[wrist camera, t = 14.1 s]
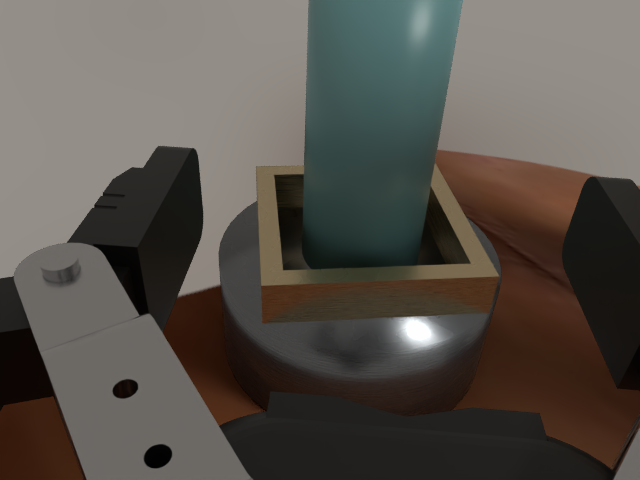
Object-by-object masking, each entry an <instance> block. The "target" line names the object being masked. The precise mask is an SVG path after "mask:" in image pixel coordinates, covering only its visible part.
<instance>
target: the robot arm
mask: <svg viewBox="0 0 640 480" xmlns="http://www.w3.org/2000/svg"><path fill="white" fill-rule="evenodd" d="M94 206H95V207H94V208H92V209H91V210H90V212H89V213H88V214H87V216H86V217H85V219H84V220H83V221H82V223H81V224H80V225H79V227H78V228H77V230H76V231H75V232H74V234H73V235H72V236H71V238H70V239H69V241H68V242H67V243H63V244H57V245H53V246H49V247H46V248H43V249H41V250H39V251H36V252H34V253H33V254H31V255H29V256H28V257H27V258H25V259H24V260H23V261H22V262H21V263H20V264H19V265H18V267H17V268H16V271H15V273H14V276H13V277H7V278H1V279H0V411H1V409H2V407H3V405H7V404H13V403H18V402H24V401H29V400H34V399H40V398H45V397H51V396H54V399H55V402H56V405H57V408H58V410H59V413H60V416H61V419H62V422H63V424H64V427H65V430H66V433H67V436H68V438H69V441H70V444H71V447H72V450H73V452H74V455H75V458H76V461H77V464H78V466H79V469H80V472H81V475H82V478H83V480H640V413H639V415H638V417H637V419H636V421H635V423H634V425H633V427H632V429H631V431H630V432H629V434H628V436H627V438H626V440H625V442H624V444H623V446H622V448H621V450H620V452H619V454H618V456H617V458H616V459H615V461H614V463H613V465H612V467H611V469H610V468H609V467H607V466H606V465H605V464H603V463H602V462H600V461H599V460H597V459H596V458H594V457H592V456H591V455H589V454H587V453H586V452H584V451H582V450H580V449H578V448H576V447H574V446H572V445H570V444H567V443H565V442H562V441H560V440H557V439H555V438H552V437H549V436H546V434H545V430H544V427H543V423H542V420H541V417H540V413H531V412H519V411H506V410H494V409H482V408H467V409H460V410H453V411H446V412H439V413H432V414H425V415H417V416H408V417H407V416H400V415H396V414H392V413H389V412H386V411H382V410H379V409H376V408H372V407H369V406H366V405H362V404H359V403H356V402H352V401H349V400H346V399H342V398H339V397H335V396H322V395H310V394H298V393H286V392H273V391H271V392H270V398H269V403H268V409H267V412H261V413H255V414H251V415H247V416H243V417H240V418H237V419H234V420H232V421H229V422H226V423H224V424H222V425H220V426H218V424H217V422H216V421H215V419H214V417H213V416H212V414H211V413H210V411H209V409H208V408H207V406H206V404H205V403H204V401H203V399H202V398H201V396H200V394H199V393H198V391H197V389H196V388H195V386H194V384H193V383H192V381H191V379H190V378H189V376H188V374H187V373H186V371H185V369H184V368H183V366H182V365H181V363H180V361H179V360H178V358H177V356H176V355H175V353H174V351H173V350H172V348H171V346H170V345H169V343H168V341H167V340H166V338H165V336H164V335H163V330H164V328H165V325H166V323H167V320H168V318H169V315H170V313H171V311H172V308H173V306H174V303H175V301H176V298H177V296H178V293H179V291H180V289H181V286H182V284H183V281H184V279H185V276H186V274H187V271H188V269H189V267H190V264H191V262H192V259H193V256H194V254H195V252H196V249H197V247H198V244H199V241H200V238H201V235H202V229H203V206H202V195H201V183H200V173H199V161H198V155H197V152H196V150H195V149H194V148H182V147H167V146H158V147H157V148H156V150H155V151H154V153H153V154H152V156H151V157H150V158H149V160H148V161H147V163H146V165H145V166H144V168H134V167H132V168H130V169H129V170H127V171H125V172H124V173H122V174H121V175H119V176H117V177H116V178H115V179H113V180H112V181H111V183H110V184H109V186H108V187H107V188H106V190H105V191H104V192H103V196H101V197H100V198H99V199H98V201H97V202H96V203H95V205H94ZM562 259H563V266H564V269H565V272H566V274H567V276H568V278H569V281H570V283H571V285H572V288H573V290H574V292H575V294H576V297H577V299H578V301H579V303H580V306H581V308H582V310H583V312H584V315H585V317H586V319H587V321H588V324H589V326H590V328H591V330H592V333H593V335H594V337H595V339H596V342H597V344H598V346H599V348H600V351H601V353H602V355H603V357H604V360H605V362H606V364H607V366H608V369H609V371H610V373H611V375H612V378H613V380H614V382H615V385H616V387H617V389H630V390H640V190H639V188H638V187H637V186H636V184H635V183H634V182H633V181H632V180H630V179H620V178H607V177H590V178H588V179H587V181H586V182H585V184H584V186H583V188H582V191H581V194H580V196H579V199H578V202H577V205H576V208H575V211H574V214H573V217H572V219H571V222H570V225H569V228H568V231H567V234H566V237H565V240H564V244H563V251H562Z"/></svg>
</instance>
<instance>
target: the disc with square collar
mask: <svg viewBox="0 0 640 480" xmlns="http://www.w3.org/2000/svg"><path fill="white" fill-rule="evenodd" d="M256 178H257V180H256V181H257V201H256V202H255V203H253V204H251V205H250V206H248V207H247V208H246V209H245V210H243V211H242V212H241V213H240V214H239V215H237V217H236V218H235V219H234V220H233V221H232V222H231V223H230V225H229V226H228V228H227V230H226V231H225V233H224V235H223V238H222V240H221V243H220V249H219V268H220V282H221V295H222V308H223V322H224V335H225V348H226V354H227V358H228V362H229V365H230V368H231V370H232V372H233V374H234V376H235V378H236V379H237V381H238V383H239V384H240V386H241V387H242V389H243V390H244V391H245V392H246V393H247V394H248V395H249V396H250V397H251V398H252V400H253V401H255V402H256V403H257V404H258V405H259V406H261V407H262V408H263V409H264V410H265V411H267V409H268V403H269V398H270V392H271V391H273V392H286V393H298V394H310V395H322V396H335V397H339V398H342V399H346V400H349V401H352V402H356V403H359V404H362V405H366V406H369V407H372V408H376V409H379V410H382V411H386V412H389V413H392V414H396V415H400V416H407V417H408V416H417V415H425V414H432V413H439V412H446V411H451V410H452V409H454V407H455V406H456V405H457V404H458V403H459V402H460V401H461V400H462V399H463V397H464V396H465V394H466V393H467V391H468V389H469V388H470V386H471V384H472V381H473V379H474V376H475V373H476V370H477V366H478V363H479V359H480V356H481V352H482V349H483V345H484V342H485V338H486V335H487V331H488V328H489V324H490V321H491V317H492V314H493V310H494V307H495V304H496V300H497V297H498V293H499V289H500V284H501V266H500V262H499V259H498V255H497V253H496V251H495V249H494V247H493V245H492V244H491V242H490V241H489V239H488V238H487V236H486V235H485V234H484V233H483V232H482V231H481V230H480V229H479V228H478V226H477V225H475V224H474V223H473V222H472V221H471V220H469V219H468V218H467V217H466V216H465V215H464V213H463V211H462V209H461V208H460V206H459V204H458V202H457V201H456V199H455V197H454V195H453V193H452V192H451V190H450V188H449V186H448V185H447V183H446V181H445V179H444V178H443V176H442V174H441V172H440V170H439V169H438V167H437V165H436V164H434V170H433V176H432V182H431V187H430V193H429V199H428V205H427V211H426V216H425V222H424V228H423V234H422V239H421V245H420V251H419V257H418V263H417V265H416V266H392V267H365V268H338V269H311V268H310V267H309V266H308V265H307V263H306V262H305V260H304V258H303V255H302V226H303V189H304V166H261V167H256Z"/></svg>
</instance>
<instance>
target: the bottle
mask: <svg viewBox="0 0 640 480" xmlns="http://www.w3.org/2000/svg"><path fill="white" fill-rule="evenodd" d="M462 3H463V0H309V8H308V45H307V81H306V117H305V118H306V119H305V153H304V189H303V226H302V255H303V258H304V260H305V262H306V263H307V265H308V266H309V267H310V268H311V269H338V268H365V267H392V266H416V265H417V263H418V257H419V251H420V245H421V239H422V234H423V228H424V222H425V216H426V211H427V205H428V199H429V193H430V187H431V182H432V176H433V170H434V164H435V159H436V153H437V147H438V141H439V135H440V129H441V124H442V118H443V112H444V107H445V101H446V95H447V89H448V83H449V78H450V71H451V66H452V60H453V55H454V48H455V43H456V37H457V31H458V26H459V20H460V14H461V8H462Z"/></svg>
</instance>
